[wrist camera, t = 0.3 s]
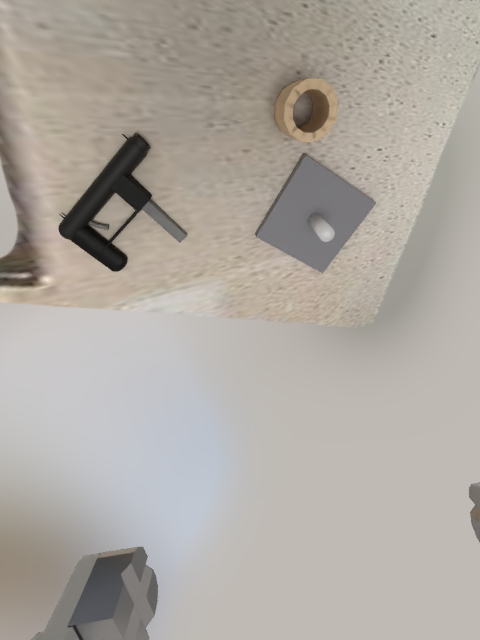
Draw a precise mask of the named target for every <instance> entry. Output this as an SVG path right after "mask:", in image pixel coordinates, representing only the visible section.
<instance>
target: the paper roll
mask: <svg viewBox="0 0 480 640" xmlns="http://www.w3.org/2000/svg"><path fill="white" fill-rule="evenodd" d="M303 92H305V93H306V94H308V95H309V96H310V97H311V100H312V102H313V115H312V117H311V118H310V120H309V122H308V124H306V125H304V126H303V127H301V128H297V127H296V125H295V123H294V120H293V118H292V117H293V106H294V104H295V102H296V100H297V98H298V96H299V95H301V94H302V93H303ZM337 110H338V100H337V97H336V94H335V91H334V88H333V87H332V86H330V85H329V84H328V83H327V82H325V81H324V80H323V79H304V80H300V81H296V82H293V83H291V84H290V85H288V86H287V87H285V88H284V89H283V90H282V91H281V93H280V95H279V97H278V99H277V100H276V102H275V120H276V122H277V124H278V127H279V129H280V130H281V131H283V132H284V133H285V134H287V135H288V136H290V137H292V138H294V139H296V140H298V141H300V142H315V141H317V140H319V139H320V138H322V137H323V136H325V135H327V134H328V132H329V131H330V129H331V127H332V126H333V124H334V123H335V121H336V117H337Z"/></svg>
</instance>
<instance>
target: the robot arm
mask: <svg viewBox="0 0 480 640" xmlns="http://www.w3.org/2000/svg"><path fill="white" fill-rule="evenodd" d="M469 497H470V499H471V500H472V501H473V502H474V504H475V506H474V508H473V509H472V511H471V512H470V514H471V523H472V526H473V529H474V531H475V534H476V536H477V538H478V540H479V542H480V483H475V484H471V486H470V488H469ZM147 557H148V556H147V554H146V553H145V550H144V548H143V547H134V548H128V549H121V550H116V551H109V552H103V553H98V554H91V555H85V556H83V558H82V559H81V560H80V561H79V562H78V563H77V565H76V567H75V569H74V571H73V573H72V575H71V577H70V580H69V582H68V584H67V586H66V588H65V590H64V592H63V594H62V596H61V598H60V600H59V602H58V604H57V606H56V608H55V610H54V612H53V614H52V616H51V618H50V620H49V622H48V624H47V626H46V628H45V631H44V632H39V633H37V634H36V635H35V636H34V637H33V638H32V640H149V636H148V633H147V630H146V627H147V625H148V624H149V622H150V621H151V620H152V618H153V617H154V615H155V610H156V605H157V596H158V585H157V580H156V575H155V573H154V570H153V569H152V568H150V567H149V566H147V565H146V560H147Z"/></svg>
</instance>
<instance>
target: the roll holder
mask: <svg viewBox="0 0 480 640" xmlns="http://www.w3.org/2000/svg"><path fill="white" fill-rule="evenodd" d="M375 204H376V202H375V201H373V200H372V199H370V198H369V197H367V196H366V195H364V194H363V193H361V192H360V191H358V190H357V189H355V188H354V187H353V186H351V185H350V184H348V183H347V182H345V181H344V180H342V179H341V178H339V177H338V176H336V175H335V174H333V173H332V172H330V171H329V170H328V169H326V168H325V167H323V166H322V165H320V164H319V163H317V162H316V161H314V160H313V159H311V158H310V157H308V156H307V155H305V154H303V156H302V157H301V159H300V161H299V162H298V164H297V165H296V167H295V169H294V170H293V172H292V174H291V175H290V177H289V179H288V180H287V182H286V184H285V185H284V187H283V189H282V190H281V192H280V194H279V195H278V197H277V199H276V200H275V202H274V204H273V205H272V207H271V209H270V210H269V212H268V214H267V215H266V217H265V219H264V220H263V222H262V224H261V225H260V227H259V228H258V230H257V232H256V233H255V234H256V237H258V238H260V239H261V240H263V241H265V242H267V243H269V244H270V245H272V246H274V247H276V248H278V249H280V250H281V251H283V252H285V253H287V254H289V255H291V256H292V257H294V258H296V259H298V260H300V261H301V262H303V263H305V264H307V265H309V266H311V267H312V268H314V269H316V270H318V271H320V272H322V273H323V272H324V271H325V269H326V268H327V267H328V265H329V264H330V263H331V262H332V260H333V259H334V258H335V256H336V255H337V254H338V252H339V251H340V250H341V248H342V247H343V246H344V244H345V243H346V242H347V241H348V239H349V238H350V237H351V235H352V234H353V233H354V231H355V230H356V229H357V227H358V226H359V225H360V224H361V222H362V221H363V220H364V218H365V217H366V216H367V214H368V213H369V212H370V210H371V209H372V208H373V206H374V205H375Z"/></svg>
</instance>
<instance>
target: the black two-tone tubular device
mask: <svg viewBox="0 0 480 640" xmlns="http://www.w3.org/2000/svg"><path fill="white" fill-rule="evenodd" d="M122 135H123V136H124V137H125V138H126V139H127V141H126V142H125V144H124V145H123V146H122V147H121V149H120V150H119V151H118V152H117V154H116V155H115V156H114V157H113V159H112V160H111V161H110V162H109V163H108V165H107V166H106V167H105V168H104V170H103V171H102V172H101V173H100V175H99V176H98V177H97V178H96V180H95V181H94V182H93V183H92V185H91V186H90V187H89V188H88V190H87V191H86V192H85V193H84V195H83V196H82V197H81V198H80V200H79V201H78V202H77V203H76V205H75V206H74V207H73V208H72V210H71V211H70V212H69V213H68V215H67V216H66V215H65V214H63V213H62V212H61V213H62V214H63V215H65V216H66V217H63V216H62V217H63V218H64V220H63V221H62V222H61V223H60V225H59V232H60V234H61V235H62V236H63V237H64V238H66V239H69V240H71V241H72V242H74V243H75V244H76V245H78V246H79V247H80V248H82V249H83V250H85V251H86V252H87V253H89V254H90V255H91V256H93V257H94V258H95V259H97V260H98V261H100V262H101V263H102V264H104V265H105V266H106V267H108V268H109V269H110V270H112V271H120V270H121V269H123V268H124V267H125V265H126V263H127V257H126V256H125V255H124V254H123V253H122V252H120V251H119V250H118V249H116V248H115V247H114V246H113V245H111V244H110V243H111V242H112V241H113V240H114V239H115V238H116V237H117V235H118V234H119V233H120V232H121V231H122V230H123V229H124V228H125V227H126V226H127V224H128V223H129V222H130V221H131V220H132V219H133V218H134V217H135V216H136V214H137V213H138V212H139V211H140V210H141V209H143V210H144V211H145V212H146V213H147V214H148V215H149V216H150V217H152V218H153V219H154V220H155V221H156V222H157V223H158V224H159V225H161V226H162V227H163V228H164V229H165V230H166V231H167V232H168V233H170V234H171V235H172V236H173V237H174V238H175V239H176V240H178V241H179V242H181V241H182V240H183V239H184V238H185V237H186V236H187V233H186V232H185V231H184V230H183V229H182V228H181V227H180V226H179V225H178V224H177V223H176V222H174V221H173V220H172V219H171V218H170V217H169V216H168V215H167V214H166V213H165V212H164V211H163V210H162V209H161V208H160V207H159V206H158V205H157V204H156V203H154V202H153V201H152V200H151V196H152V195H151V194H150V193H149V192H148V191H147V190H146V189H145V188H144V187H143V186H142V185H141V184H140V183H139V182H138V181H137V180H136V179H135V178H134V177H133V176H132V175H131V173H132V172H133V170H134V169H135V168H136V167H137V166H138V164H139V163H140V162H141V161H142V160H143V158H144V157H145V156H146V154H147V151H148V150H149V149H150V146H149V144H148V143H147V142H146V141H145V140H144V139H143V138H142V137H141V136H140V135H139V134H137V133H135V134H134V136H133V137H130V138H127V137H126V136H125V135H124V134H122ZM115 192H116V193H117V194H118V195H119V196H120V197H121V198H123V199H124V200H125V201H126V202H127V203H128V204H129V205H131V206H132V207H133V208H134V209H135V210H136V211H135V212H134V214H133V215H132V216H131V217H130V218H129V219H128V220H127V221H126V222H125V224H124V225H123V226H122V227H121V228H120V229H119V230H118V231H117V232H116V234H115V235H114V236H113V237H112V238H111V239H110V240H109V241H108V242H107V241H106V240H105V239H104V238H102V237H101V236H100V235H98V234H97V233H96V232H95V231H93V230H92V229H91V228H89V227H88V226H87V225H88V224H90V225H92V226H94V227H97V228H101V229H109V226H108V225H102V224H98V223H95V222H92V221H91V220H92V219H93V218H94V217H95V215H96V214H97V213H98V212H99V211H100V209H101V208H102V207H103V206H104V205H105V203H106V202H107V201H108V200H109V199H110V198H111V196H112V195H113V194H114V193H115ZM59 215H60V214H59Z"/></svg>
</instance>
